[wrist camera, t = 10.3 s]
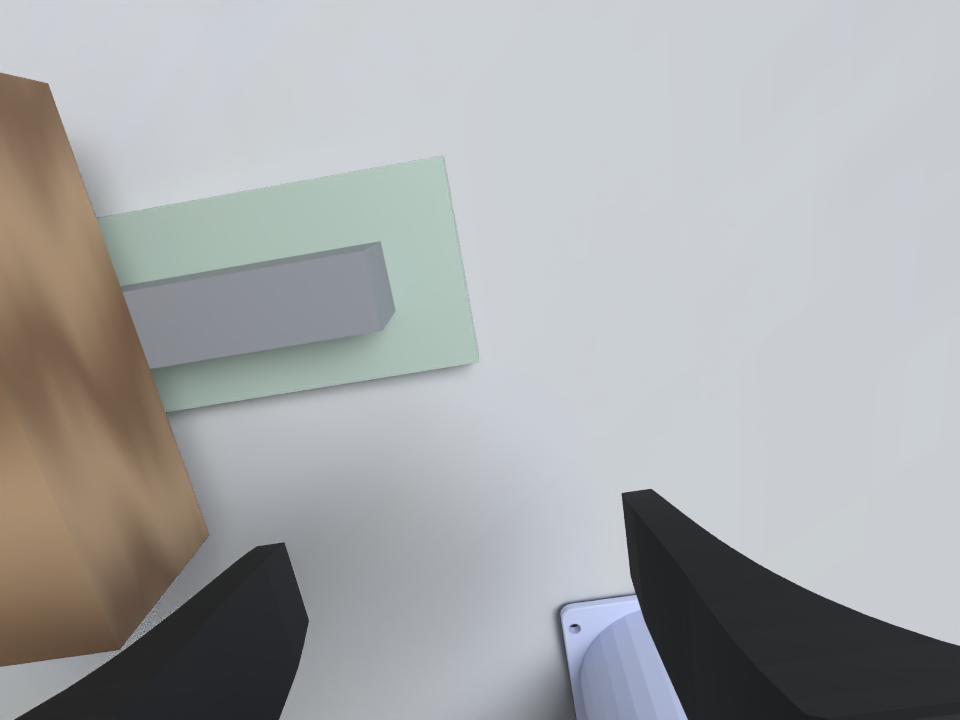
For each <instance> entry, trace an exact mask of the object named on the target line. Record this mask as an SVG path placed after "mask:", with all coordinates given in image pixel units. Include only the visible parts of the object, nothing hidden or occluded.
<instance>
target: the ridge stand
mask: <svg viewBox="0 0 960 720" xmlns="http://www.w3.org/2000/svg"><path fill="white" fill-rule="evenodd" d="M96 219H97V222H98V225H99V228H100V230H101V233H102V236H103V239H104V242H105V244H106V247H107V250H108V253H109V256H110V258H111V261H112V264H113V267H114V270H115V272H116V275H117V278H118V281H119V284H120V286H121V289H122V292H123V295H124V298H125V301H126V303H127V306H128V309H129V312H130V315H131V317H132V320H133V323H134V326H135V329H136V331H137V334H138V337H139V340H140V343H141V345H142V348H143V351H144V354H145V357H146V359H147V362H148V365H149V368H150V371H151V373H152V376H153V379H154V382H155V385H156V387H157V390H158V393H159V396H160V399H161V401H162V404H163V407H164V410H165V412H171V411H177V410H184V409H190V408H196V407H203V406H209V405H215V404H221V403H228V402H234V401H240V400H246V399H253V398H259V397H265V396H271V395H278V394H284V393H290V392H296V391H303V390H309V389H315V388H321V387H328V386H334V385H340V384H346V383H353V382H359V381H365V380H372V379H378V378H384V377H390V376H397V375H403V374H409V373H415V372H422V371H428V370H434V369H440V368H447V367H453V366H459V365H465V364H472V363H478V360H479V352H478V346H477V340H476V335H475V329H474V323H473V318H472V312H471V306H470V301H469V295H468V290H467V284H466V278H465V273H464V267H463V261H462V256H461V250H460V244H459V239H458V233H457V227H456V222H455V216H454V210H453V205H452V199H451V194H450V188H449V182H448V177H447V171H446V165H445V160H444V157H443V156H437V157H431V158H426V159H420V160H415V161H409V162H404V163H398V164H393V165H387V166H381V167H376V168H370V169H365V170H359V171H354V172H348V173H343V174H337V175H332V176H326V177H320V178H315V179H309V180H304V181H298V182H293V183H287V184H282V185H276V186H271V187H265V188H260V189H254V190H248V191H243V192H237V193H232V194H226V195H221V196H215V197H210V198H204V199H199V200H193V201H187V202H182V203H176V204H171V205H165V206H160V207H154V208H149V209H143V210H138V211H132V212H126V213H121V214H115V215H110V216H104V217H99V218H96Z"/></svg>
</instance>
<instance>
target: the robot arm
mask: <svg viewBox="0 0 960 720" xmlns="http://www.w3.org/2000/svg"><path fill="white" fill-rule="evenodd" d="M622 501H623V510H624V519H625V528H626V538H627V547H628V556H629V565H630V574H631V579H632V582H633V585H634V589H635V592H636V595H632V596H625V597H617V598H610V599H603V600H595V601H588V602H580V603H573V604H568V605H566V606H564V607H563V608H562V610H561V614H560V616H561V622H562V628H563V635H564V641H565V648H566V654H567V660H568V667H569V673H570V680H571V686H572V693H573V699H574V705H575V712H576V718H577V720H960V646H958V645H955V644H951V643H947V642H944V641H940V640H937V639H934V638H931V637H928V636H925V635H922V634H919V633H916V632H913V631H910V630H907V629H904V628H901V627H898V626H895V625H892V624H889V623H886V622H884V621H881V620H878V619H876V618H873V617H870V616H868V615H865V614H862V613H860V612H858V611H855V610H853V609H850V608H848V607H846V606H843V605H841V604H838V603H836V602H834V601H831V600H829V599H826V598H824V597H822V596H820V595H818V594H815V593H813V592H811V591H809V590H807V589H805V588H803V587H801V586H799V585H797V584H795V583H793V582H791V581H789V580H787V579H785V578H783V577H781V576H779V575H777V574H775V573H773V572H772V571H770V570H768V569H766V568H764V567H763V566H761V565H759V564H757V563H756V562H754V561H752V560H751V559H749V558H747V557H746V556H744V555H743V554H741V553H739V552H738V551H736V550H734V549H733V548H731V547H730V546H728V545H727V544H725V543H724V542H722V541H721V540H719V539H718V538H716V537H715V536H713V535H712V534H710V533H709V532H708V531H706V530H705V529H703V528H702V527H701V526H699V525H698V524H697V523H695V522H694V521H692V520H691V519H690V518H689V517H687V516H686V515H685V514H683V513H682V512H681V511H679V510H678V509H677V508H676V507H674V506H673V505H672V504H670V503H669V502H668V501H667V500H665V499H664V498H663V497H661V496H660V495H659V494H657V493H656V492H655V491H653V490H652V489H647V490H640V491H633V492H626V493H622ZM308 622H309V620H308V616H307V613H306V610H305V607H304V604H303V600H302V597H301V594H300V591H299V588H298V584H297V581H296V578H295V575H294V572H293V568H292V565H291V562H290V559H289V556H288V552H287V549H286V546H285V543H278V544H271V545H264V546H257V547H256V548H254V549H253V550H251V551H250V552H248V553H247V554H245V555H244V556H243V557H241V558H240V559H239V560H238V561H236V562H235V563H234V564H233V565H231V566H230V567H229V568H228V569H226V570H225V571H224V572H223V573H221V574H220V575H219V576H218V577H217V578H215V579H214V580H213V581H212V582H210V583H209V584H208V585H207V586H206V587H204V588H203V589H202V590H201V591H199V592H198V593H197V594H196V595H195V596H193V597H192V598H191V599H190V600H188V601H187V602H186V603H185V604H184V605H182V606H181V607H180V608H179V609H177V610H176V611H175V612H174V613H172V614H171V615H170V616H168V617H167V618H166V619H164V620H163V621H162V622H161V623H159V624H158V625H157V626H155V627H154V628H153V629H151V630H150V631H149V632H148V633H146V634H145V635H144V636H142V637H141V638H140V639H138V640H137V641H136V642H135V643H133V644H132V645H131V646H129V647H128V648H126V649H125V650H124V651H122V652H121V653H119V654H118V655H117V656H115V657H114V658H112V659H111V660H109V661H108V662H107V663H105V664H104V665H102V666H101V667H99V668H98V669H96V670H95V671H93V672H92V673H90V674H89V675H87V676H86V677H84V678H83V679H81V680H79V681H78V682H76V683H75V684H73V685H72V686H70V687H69V688H67V689H65V690H64V691H62V692H60V693H59V694H57V695H55V696H54V697H52V698H50V699H49V700H47V701H45V702H44V703H42V704H40V705H38V706H37V707H35V708H33V709H32V710H30V711H28V712H27V713H25V714H23V715H22V716H20V717H18V718H16V719H15V720H279V718H280V715H281V713H282V710H283V708H284V705H285V702H286V699H287V697H288V694H289V691H290V689H291V686H292V683H293V680H294V678H295V675H296V672H297V669H298V666H299V662H300V658H301V654H302V650H303V646H304V641H305V636H306V632H307V627H308ZM572 624H578V626H576V627H570V625H572Z"/></svg>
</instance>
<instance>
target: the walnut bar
mask: <svg viewBox="0 0 960 720" xmlns="http://www.w3.org/2000/svg"><path fill="white" fill-rule="evenodd" d="M208 536H209V533H208V530H207V527H206V525H205V522H204V519H203V516H202V513H201V511H200V508H199V505H198V502H197V499H196V497H195V494H194V491H193V488H192V485H191V483H190V480H189V477H188V474H187V471H186V469H185V466H184V463H183V460H182V457H181V455H180V452H179V449H178V446H177V443H176V441H175V438H174V435H173V432H172V429H171V427H170V424H169V421H168V418H167V415H166V413H165V410H164V407H163V404H162V401H161V399H160V396H159V393H158V390H157V387H156V385H155V382H154V379H153V376H152V373H151V371H150V368H149V365H148V362H147V359H146V357H145V354H144V351H143V348H142V345H141V343H140V340H139V337H138V334H137V331H136V329H135V326H134V323H133V320H132V317H131V315H130V312H129V309H128V306H127V303H126V301H125V298H124V295H123V292H122V289H121V286H120V284H119V281H118V278H117V275H116V272H115V270H114V267H113V264H112V261H111V258H110V256H109V253H108V250H107V247H106V244H105V242H104V239H103V236H102V233H101V230H100V228H99V225H98V222H97V219H96V216H95V214H94V211H93V208H92V205H91V202H90V200H89V197H88V194H87V191H86V188H85V186H84V183H83V180H82V177H81V174H80V172H79V169H78V166H77V163H76V160H75V158H74V155H73V152H72V149H71V146H70V144H69V141H68V138H67V135H66V132H65V130H64V127H63V124H62V121H61V118H60V116H59V113H58V110H57V107H56V104H55V102H54V99H53V96H52V93H51V90H50V88H49V85H48V83H44V82H39V81H35V80H30V79H26V78H21V77H17V76H13V75H8V74H4V73H0V667H2V666H9V665H16V664H23V663H30V662H37V661H44V660H51V659H59V658H66V657H73V656H80V655H87V654H94V653H101V652H108V651H115V650H120V649H121V647H122V646H123V645H124V644H125V642H126V641H127V640H128V638H129V637H130V636H131V635H132V633H133V632H134V631H135V629H136V628H137V627H138V626H139V624H140V623H141V622H142V620H143V619H144V618H145V617H146V615H147V614H148V613H149V611H150V610H151V609H152V608H153V606H154V605H155V604H156V602H157V601H158V600H159V599H160V597H161V596H162V595H163V593H164V592H165V591H166V590H167V588H168V587H169V586H170V585H171V583H172V582H173V581H174V579H175V578H176V577H177V576H178V574H179V573H180V572H181V570H182V569H183V568H184V567H185V565H186V564H187V563H188V561H189V560H190V559H191V558H192V556H193V555H194V554H195V552H196V551H197V550H198V549H199V547H200V546H201V545H202V543H203V542H204V541H205V540H206V538H207V537H208Z"/></svg>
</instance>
